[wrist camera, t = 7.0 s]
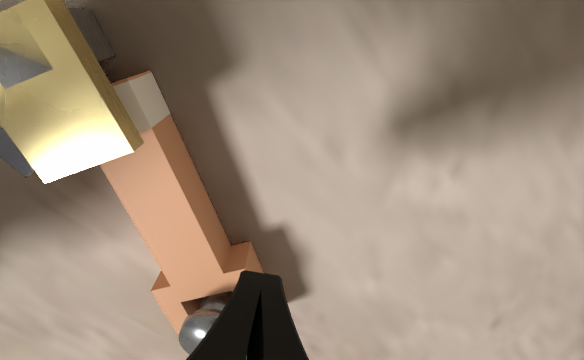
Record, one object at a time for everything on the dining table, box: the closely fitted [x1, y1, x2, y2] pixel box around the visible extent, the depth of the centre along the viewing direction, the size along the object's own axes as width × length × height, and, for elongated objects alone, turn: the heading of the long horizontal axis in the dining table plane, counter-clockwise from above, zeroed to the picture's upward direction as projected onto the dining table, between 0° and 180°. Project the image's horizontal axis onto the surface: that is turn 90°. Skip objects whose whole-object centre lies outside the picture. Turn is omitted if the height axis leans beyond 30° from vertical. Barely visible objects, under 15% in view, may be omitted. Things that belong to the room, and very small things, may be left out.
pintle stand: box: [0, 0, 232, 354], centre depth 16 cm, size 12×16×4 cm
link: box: [99, 70, 264, 335], centre depth 18 cm, size 16×5×2 cm, turn 17°
